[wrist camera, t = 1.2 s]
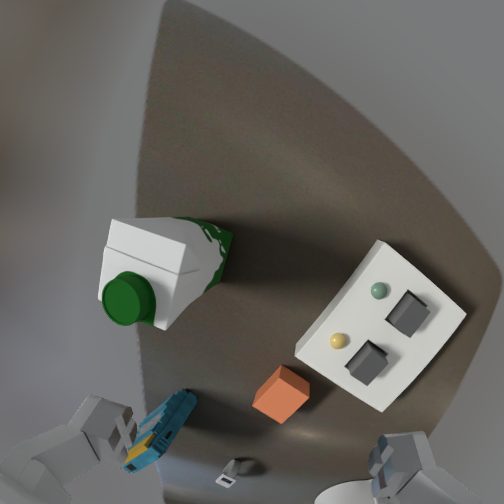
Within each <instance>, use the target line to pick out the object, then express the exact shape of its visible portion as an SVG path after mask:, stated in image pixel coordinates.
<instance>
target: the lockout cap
mask: <svg viewBox="0 0 504 504" xmlns="http://www.w3.org/2000/svg"><path fill="white" fill-rule="evenodd" d="M309 390H310V383H309V382H307V381H306V380H304V379H303V378H301V377H299V376H298V375H296V374H295V373H293V372H292V371H290V370H289V369H287V368H286V367H285V366H283V365H281V366H280V367H279V368H278V369H277V370H276V371H275V372H274V374H273V375H272V376H271V377H270V378H269V379H268V380H267V381H266V382H265V383H264V384H263V386H262V387H261V388H260V389H259V390H258V391H257V393H256V396H255V399H254V402H253V405H252V406H253V407H255V408H257V409H258V410H260V411H261V412H263V413H265V414H266V415H268V416H269V417H271V418H273V419H274V420H276V421H278V422H279V423H281V424H282V423H283V422H284V421H285V420H286V419H287V418H288V417H290V416H291V415H292V414H293V413H294V412H295V411H296V410H297V409H298V408H299V407H300V406H301V405H302V404H303V403H304V402H305V401H306V400H307V399H308V398H309Z"/></svg>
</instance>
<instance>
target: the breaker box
mask: <svg viewBox="0 0 504 504" xmlns="http://www.w3.org/2000/svg"><path fill="white" fill-rule="evenodd" d="M405 292H407V293H408V294H410V295H411V296H412V297H413V298H415V299H416V300H417V301H418V302H419V303H420V304H422V305H423V306H424V307H425V308H426V309H428V310H429V311H430V312H431V313H430V314H429V315H428V316H427V318H426V319H425V320H424V322H423V323H422V324H421V325H420V327H419V328H418V329H417V331H416V332H415V333H414V334H413V335H412V337H411V338H409V337H408V336H406V335H405V334H404V333H403V332H401V331H400V330H399V329H397V328H396V327H395V326H393V324H392V323H391V321H390V320H389V319H388V317H387V316H388V314H389V313H390V312H391V311H392V309H393V308H394V307H395V305H396V304H397V303H398V302H399V300H400V299H401V298H402V296H403V295H404V294H405ZM465 316H466V313H465V312H464V311H463V310H462V309H461V308H460V307H459V306H458V305H456V304H455V303H454V302H453V301H452V300H451V299H450V298H449V297H448V296H447V295H446V294H445V293H443V292H442V291H441V290H440V289H439V288H438V287H437V286H436V285H435V284H433V283H432V282H431V281H430V280H429V279H428V278H427V277H425V276H424V275H423V274H422V273H421V272H420V271H419V270H417V269H416V268H415V267H414V266H413V265H412V264H410V263H409V262H408V261H407V260H406V259H404V258H403V257H402V256H401V255H400V254H398V253H397V252H396V251H395V250H394V249H392V248H391V247H390V246H389V245H387V244H386V243H385V242H383V241H380V240H377V241H376V242H375V244H374V245H373V247H372V248H371V249H370V251H369V252H368V253H367V255H366V256H365V258H364V259H363V260H362V262H361V263H360V264H359V266H358V267H357V268H356V270H355V271H354V272H353V274H352V275H351V276H350V278H349V279H348V280H347V282H346V283H345V284H344V286H343V287H342V288H341V289H340V291H339V292H338V293H337V295H336V296H335V297H334V298H333V300H332V301H331V302H330V304H329V305H328V306H327V307H326V309H325V310H324V311H323V312H322V313H321V315H320V316H319V317H318V318H317V320H316V321H315V322H314V323H313V324H312V326H311V327H310V328H309V329H308V330H307V332H306V333H305V334H304V335H303V336H302V338H301V339H300V340H299V341H298V342H297V344H296V350H295V357H297V358H298V359H300V360H301V361H303V362H304V363H306V364H307V365H309V366H310V367H312V368H313V369H315V370H316V371H318V372H319V373H321V374H322V375H324V376H325V377H327V378H328V379H330V380H331V381H333V382H334V383H336V384H337V385H339V386H340V387H342V388H344V389H345V390H347V391H348V392H350V393H351V394H353V395H355V396H356V397H358V398H359V399H361V400H362V401H364V402H366V403H367V404H369V405H370V406H372V407H374V408H375V409H377V410H379V411H380V412H383V411H384V410H385V409H386V408H387V407H388V406H389V405H390V404H391V403H392V402H393V401H394V400H395V399H396V398H397V397H398V396H399V395H400V394H401V393H402V392H403V391H404V390H405V388H406V387H407V386H408V385H409V384H410V383H411V382H412V381H413V380H414V379H415V378H416V377H417V376H418V374H419V373H420V372H421V371H422V370H423V369H424V368H425V366H426V365H427V364H428V363H429V362H430V361H431V359H432V358H433V357H434V356H435V355H436V354H437V352H438V351H439V350H440V349H441V347H442V346H443V345H444V344H445V342H446V341H447V340H448V339H449V337H450V336H451V335H452V333H453V332H454V331H455V330H456V328H457V327H458V325H459V324H460V323H461V321H462V320H463V319H464V317H465ZM368 339H369V340H370V341H371V342H373V343H374V344H376V345H377V346H378V347H380V348H381V349H382V351H383V353H384V355H385V357H386V359H387V361H388V363H389V364H388V365H387V366H386V367H385V368H384V369H383V370H382V371H381V372H380V373H379V374H378V376H377V377H376V378H375V379H374V380H373V381H372V382H371V383H370V384H369V385H368V386H366V385H365V384H363V383H362V382H360V381H359V380H357V379H355V378H354V377H352V376H351V375H350V372H349V368H348V361H349V360H350V359H351V358H352V357H353V356H354V355H355V354H356V352H357V351H358V350H359V349H360V348H361V347H362V346H363V344H364V343H365V342H366V341H367V340H368Z"/></svg>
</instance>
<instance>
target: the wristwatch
mask: <svg viewBox="0 0 504 504" xmlns="http://www.w3.org/2000/svg"><path fill="white" fill-rule="evenodd" d="M240 466H241V462H239V461H237V460H235V459H233V460H231V461H230V462H229V463H228V465H227V466H226V467H225V468H224V470H223V471H222V473H221V475H220V477H219V478H218V479H217V480H216V483H218V484H220V485H222V486H225V487H227V488H230V487H231V486H232V485H233V484H234V483H235V482H236V481H237V480H238V479H237V478H236V477H235V476H236V474H237V472H238V470H239V468H240Z"/></svg>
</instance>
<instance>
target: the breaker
mask: <svg viewBox="0 0 504 504" xmlns="http://www.w3.org/2000/svg"><path fill="white" fill-rule="evenodd" d="M430 313H431V312H430V311H429V310H428V309H426V308H425V307H424V306H423V305H422V304H420V303H419V302H418V301H417V300H416V299H415V298H413V297H412V296H411V295H410V294H408V293H407V292H405V294H404V295H403V296H402V298H401V299H400V300H399V302H398V303H397V304H396V305H395V307H394V308H393V309H392V311H391V312H390V313H389V314H388V316H387V317H388V319H389V320H390V321H391V323H392V324H393V326H395V327H396V328H397V329H399V330H400V331H401V332H403V333H404V334H405V335H406V336H408V337H409V338H411V337H412V335H413V334H414V333H415V332H416V331H417V329H418V328H419V327H420V325H421V324H422V323H423V322H424V320H425V319H426V318H427V316H428V315H429V314H430Z"/></svg>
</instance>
